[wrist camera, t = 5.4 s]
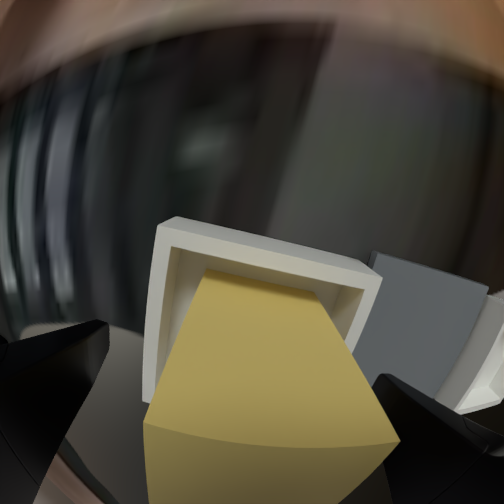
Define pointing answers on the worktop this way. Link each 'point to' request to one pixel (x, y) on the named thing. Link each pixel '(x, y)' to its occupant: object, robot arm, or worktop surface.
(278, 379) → the tan carton
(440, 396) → the white square tray
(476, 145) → the worktop surface
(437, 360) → the slate coaster
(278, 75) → the worktop surface
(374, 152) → the worktop surface
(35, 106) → the worktop surface
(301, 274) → the shallow white dish
